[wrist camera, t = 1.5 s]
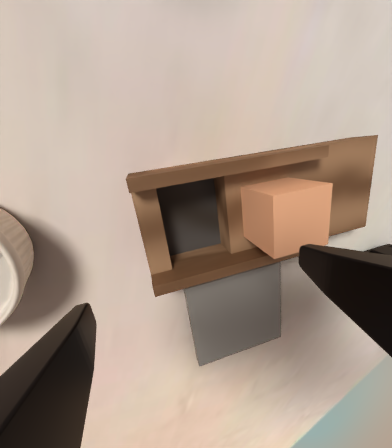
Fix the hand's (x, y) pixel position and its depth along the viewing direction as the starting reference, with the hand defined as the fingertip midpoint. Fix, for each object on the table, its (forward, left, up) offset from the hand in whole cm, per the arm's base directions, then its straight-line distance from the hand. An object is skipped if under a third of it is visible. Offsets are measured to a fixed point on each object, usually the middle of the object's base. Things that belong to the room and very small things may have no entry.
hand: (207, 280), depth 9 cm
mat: (-15, -6, -14) cm, 21 cm away
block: (-1, -9, -11) cm, 14 cm away
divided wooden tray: (-1, -10, -14) cm, 17 cm away
